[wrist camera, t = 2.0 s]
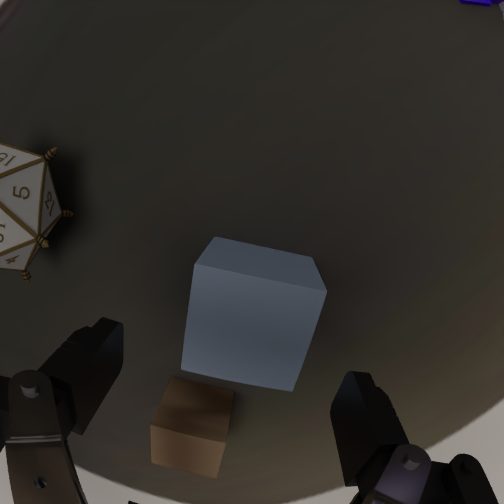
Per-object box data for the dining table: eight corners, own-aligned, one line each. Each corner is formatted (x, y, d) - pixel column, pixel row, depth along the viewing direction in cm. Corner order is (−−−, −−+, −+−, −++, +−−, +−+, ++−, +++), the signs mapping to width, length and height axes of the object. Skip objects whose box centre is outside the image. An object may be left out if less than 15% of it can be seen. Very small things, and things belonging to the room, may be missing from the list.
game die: (83, 213, 21) (41, 335, 15) (-4, 183, 18) (-61, 291, 12) (104, 116, 15) (22, 260, 9) (-6, 85, 11) (-110, 201, 5)
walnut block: (234, 390, 20) (225, 443, 15) (224, 429, 21) (216, 478, 17) (171, 375, 20) (150, 424, 15) (169, 416, 21) (151, 462, 17)
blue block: (311, 256, 17) (327, 291, 12) (287, 339, 19) (292, 391, 14) (215, 235, 17) (194, 263, 12) (200, 321, 19) (180, 369, 14)
